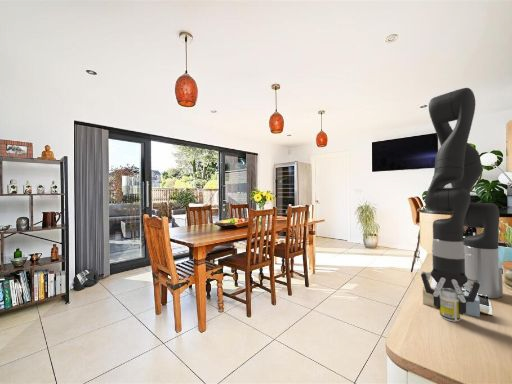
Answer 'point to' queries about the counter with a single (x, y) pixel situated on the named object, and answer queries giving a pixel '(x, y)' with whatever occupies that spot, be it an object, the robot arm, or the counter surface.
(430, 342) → the counter surface
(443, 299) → the supplement bottle
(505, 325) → the counter surface
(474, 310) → the slate cube
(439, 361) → the counter surface
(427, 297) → the beech cube
